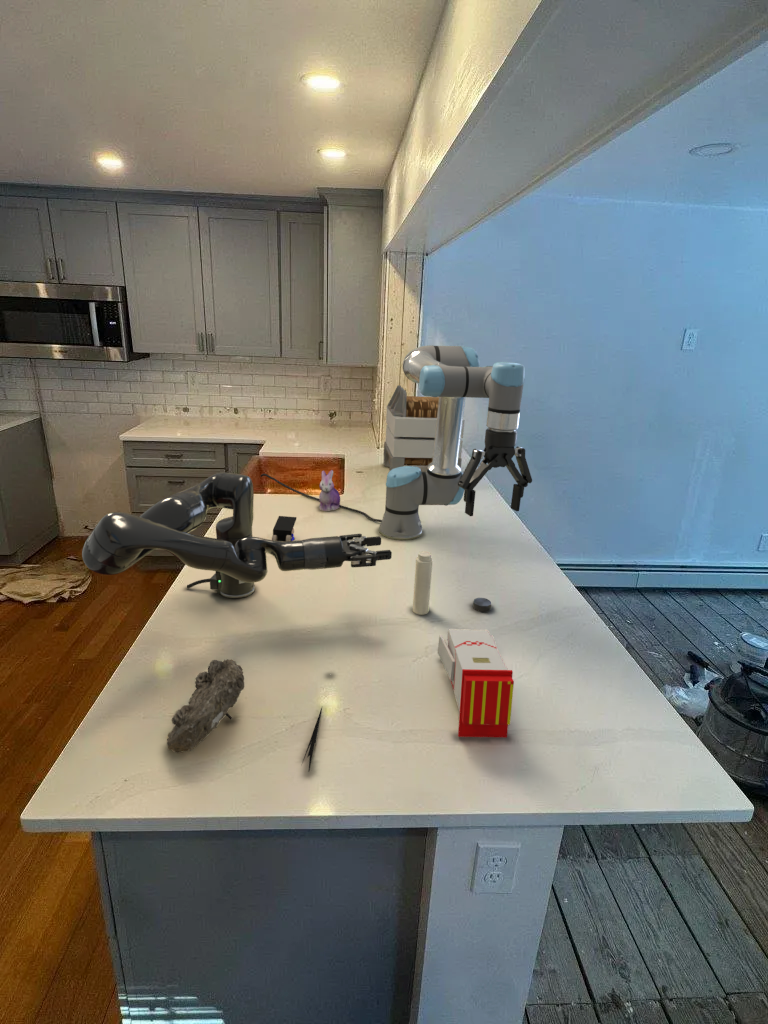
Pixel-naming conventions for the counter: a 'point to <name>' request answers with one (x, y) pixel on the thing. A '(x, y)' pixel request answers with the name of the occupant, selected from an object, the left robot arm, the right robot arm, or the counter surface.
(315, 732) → the feather
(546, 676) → the counter surface
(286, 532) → the figurine character
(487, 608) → the lid
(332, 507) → the figurine
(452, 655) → the toy
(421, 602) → the white cylinder
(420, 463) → the transformer
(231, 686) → the fossil
